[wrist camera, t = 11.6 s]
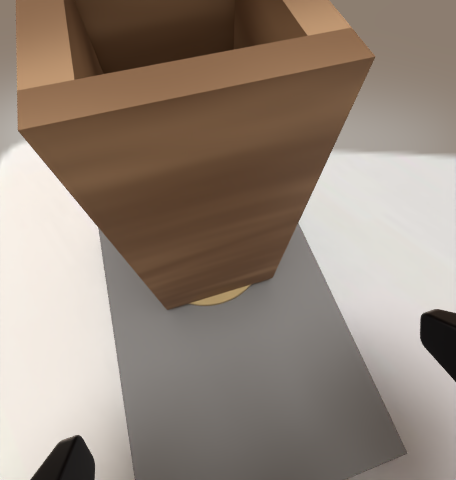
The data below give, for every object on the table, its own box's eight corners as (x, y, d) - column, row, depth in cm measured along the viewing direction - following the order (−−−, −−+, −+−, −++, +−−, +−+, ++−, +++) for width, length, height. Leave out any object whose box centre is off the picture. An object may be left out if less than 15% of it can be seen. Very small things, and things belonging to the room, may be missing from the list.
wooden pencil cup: (272, 277, 16) (375, 56, 5) (166, 310, 16) (17, 130, 4) (238, 192, 19) (258, -85, 8) (146, 216, 18) (15, -55, 7)
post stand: (390, 446, 15) (467, 477, 10) (155, 544, 13) (116, 635, 9) (274, 192, 21) (288, 139, 17) (106, 237, 20) (69, 192, 15)
